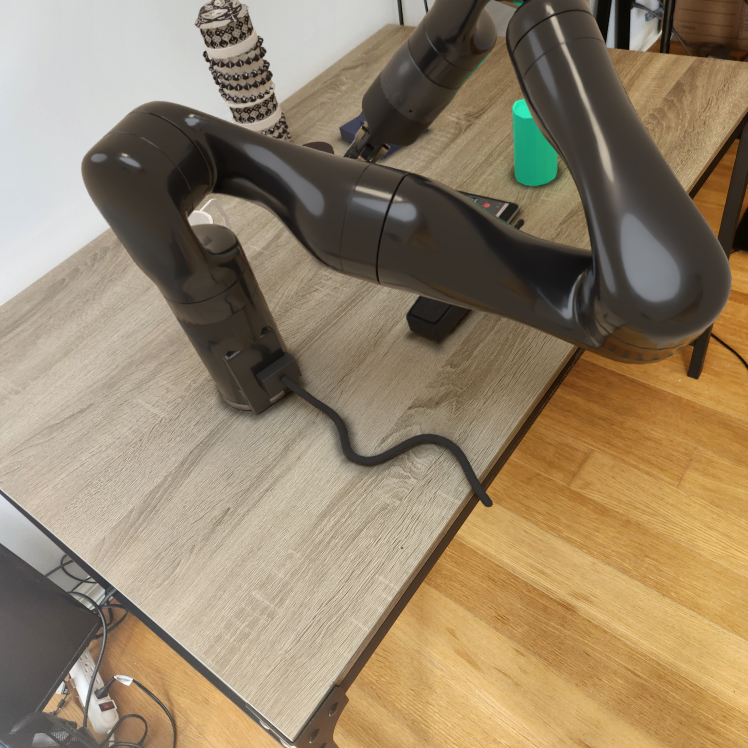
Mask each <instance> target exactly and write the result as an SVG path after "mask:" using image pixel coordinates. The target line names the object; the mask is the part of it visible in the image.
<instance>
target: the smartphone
mask: <svg viewBox="0 0 748 748" xmlns="http://www.w3.org/2000/svg"><path fill="white" fill-rule="evenodd" d="M455 190H456V191H458V192H459V193H461V194H463V195H464V196H466V197H468V198H469V199H471V200H472V201H474V202H475V203H477V204H478V205H480V206H482V207H483V208H485V209H486V210H488V211H489V212H491V213H492V214H494V215H495V216H497V217H499V218H500V219H502V220H503V221H505V222H507V223H508V224H510V222H512V220H513V219H514V217H516V215H517V214H518V212H519V211H520V204H518V203H517V202H512V201H509V200H503V199H499V198H493V197H490V196H485V195H481V194H476V193H471V192H466V191H463V190H458V189H455Z"/></svg>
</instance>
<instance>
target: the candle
mask: <svg viewBox="0 0 748 748" xmlns="http://www.w3.org/2000/svg"><path fill="white" fill-rule="evenodd" d="M511 111H512V113H511V115H512V137H513V138H512V141H513V166H514V167H513V168H514V169H513V170H514V177H515V179H516V181H517V182H518V183H520V184H522V185H524V186H530V187H531V186H532V187H538V186H543V185H547V184H549V183H550V182H551V181H553V180H555V179H556V177H557V174H558V169H559V168H558V166H559V155H558V153H557V152H556V151H555V150H554V149H553V147H552V146H551V145H550V144H549V142H548V141H547V140H546V139H545V137H544V136H543V135H542V133H541V132H540V130H539V129H538V127H537V125H536V123H535V122H534V120H533V118H532V116H531V114H530V111H529V109H528V107H527V104H526V102H525V99H524V98H522V99H518V100H516V101H514V103H513V106H512V109H511Z"/></svg>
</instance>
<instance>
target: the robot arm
mask: <svg viewBox="0 0 748 748" xmlns="http://www.w3.org/2000/svg"><path fill="white" fill-rule="evenodd" d="M493 1H494V2H497V3H500V4H502V5H505V6H508V7H511V8H514V9H516V10H514V12H513V14H512V15H511V17H510V19H509V21H508V24H507V26H506V30H505V46H506V50H507V54H508V55H507V56H508V58H509V61H510V64H511V67H512V69H513V72H514V75H515V78H516V80H517V84H518V87H519V89H520V91H521V94H522V97H523V99H525V102H526V104H527V107H528V109H529V111H530V114H531V116H532V118H533V120H534V122H535V123H536V125H537V127H538V129H539V130H540V132H541V133H542V135H543V136H544V137H545V139H546V140H547V141H548V142H549V144H550V145H551V146H552V147H553V149H554V150H555V151H556V152H557V153H558V157H559V158H560V159H561V161H562V162H563V163H564V165H565V166H566V168H567V170H568V172H569V174H570V176H571V178H572V181H573V182H574V185H575V187H576V190H577V192H578V195H579V199H580V202H581V205H582V209H583V213H584V219H585V222H586V228H587V232H588V239H589V244H590V245H589V246H590V249H586V248H580V247H577V246H572V245H568V244H564V243H561V242H560V243H559V242H556V241H551V240H547V239H544V238H540V237H537V236H535V235H532V234H531V233H527V232H525V231H524V230H521V229H517V228H515V227H514V225H511V224H510V223H509V224H508V223H507V222H505V221H503V220H502V219H500V218H499V217H497V216H495V215H494V214H492V213H491V212H489V211H488V210H486V209H485V208H483V207H482V206H480V205H478V204H477V203H475V202H474V201H472V200H471V199H469V198H468V197H466V196H464V195H463V194H461V193H459V192H458V191H459V190H458V191H456V190H457V189H454V188H452V187H451V186H449V185H447V184H445V183H442V182H441V181H439V180H436V179H433V178H431V177H427V176H425V175H422V174H419V173H416V172H411V171H408V170H404V169H400V168H396V167H392V166H387V165H384V164H380V163H377V162H378V161H379V160H381V158H383V157H384V155H385V154H386V153H387V151H388V150H389V148H390V146H389V145H387V144H392V145H396V146H403V147H408V146H411V145H413V144H414V143H416V142H417V141H418V140H419V139H420V137H421V136H422V135H424V134H425V133H426V132H425V131H426V129H427V128H428V129H429V128H430V127H431V125H432V124H433V123H434V122H435V121H436V120H437V118H438V117H439V116H440V115H441V114H442V113H443V112H444V110H446V109H447V107H448V106H449V105H450V104H451V103H452V102H453V100H454V98H455V97H456V95H457V94H458V92H459V90H460V89H461V88H462V87H463V86H464V85H465V83H466V82H467V81H468V80H469V79H470V78H471V76H472V75H473V74H474V73H475V72H476V71H477V70H478V69H479V67H480V66H481V65H482V64H483V63H484V62H485V61H486V59H488V58H489V56H490V55H491V53H492V51H493V50H494V48H495V46H496V43H497V39H498V28H497V26H496V22H495V20H494V18H493V16H492V15H491V13H490V11H489V10H488V9H487V8H486V6H487V5H488V4H489V3H490V2H492V0H434V2H433V4H432V6H431V7H430V8H429V9H428V11H426V13H425V14H424V16H423V18H422V19H421V20H420V22H419V23H418V24H417V26H416V27H415V29H414V30H413V31H412V33H411V34H410V35H409V36H408V37H407V38H406V39H405V41H403V43H402V44H401V45H400V46H399V47H398V48H397V49H395V50H396V51H394V53H393V54H392V56H391V57H390V58H389V60H388V61H387V63H386V64H385V65H384V66H383V68H382V69H381V71H380V72H379V74H378V75H377V76H376V78H375V79H374V80H373V81H372V83H371V85H370V86H369V87H368V89H367V90H366V91H365V93H364V94H363V96H362V100H361V109H362V110H361V112H362V111H363V115H364V118H365V121H364V123H365V124H363V125H362V126H361V128H360V129H359V130H358V132H357V133H356V135H355V140H354V141H353V142H352V144H351V143H350V145H349V146H348V147H347V149H346V150H345V152H344V153H343V154H342V155H338V154H335V153H334V154H331V153H327V152H323V151H320V150H316V149H313V148H309V147H306V146H302V145H303V144H299V143H295V142H292V143H291V142H288V141H284V140H280V139H277V138H273V137H270V136H267V135H264V134H261V133H258V132H255V131H253V130H250V129H247V128H244V127H242V126H239V125H236V124H234V122H231V121H228V120H227V119H223V118H220V117H218V116H215V115H212V114H209V113H207V112H205V111H201V110H199V109H196V108H194V107H190V106H187V105H184V104H180V103H176V102H172V101H166V100H152V101H147V102H144V103H142V104H140V105H137V106H136V107H135V108H134V109H132V110H131V111H129V112H128V113H127V114H126V115H125V116H124V117H123V118H121V119H120V120H119V121H118V122H117V123H116V124H115V125H114V126H113V127H112V128H111V129H110V130H109V131H108V132H106V133H105V134H104V135H103V136H102V137H101V138H100V139H99V140H98V141H97V142H96V143H95V144H93V146H92V147H90V148H89V149H88V150H87V152H86V153H85V154H84V156H83V158H82V160H81V165H80V173H81V179H82V181H83V185H84V187H85V190H86V191H87V194H88V196H89V197H90V199H91V201H92V203H93V204H94V206H95V208H96V209H97V211H98V212H99V214H100V215H101V217H102V218H103V219H104V221H105V222H106V224H107V225H108V226H109V228H110V229H111V231H112V232H113V233H114V234H115V236H116V238H117V239H118V241H119V243H121V245H122V246H123V248H124V249H125V251H126V252H127V254H128V255H129V257H130V258H131V259H132V261H133V262H134V263H135V265H136V266H137V267H138V269H139V270H140V271H141V272H142V273H143V274H144V275H145V276H146V277H147V278H148V279H149V280H150V281H152V283H154V285H155V286H156V287H157V290H158V291H159V292H160V294H161V295H162V297H163V298H164V300H165V301H166V303H167V305H168V307H169V309H170V310H171V311H172V314H173V315H174V317H175V319H176V320H177V322H178V324H179V325H180V327H181V329H182V330H183V332H184V333H185V335H186V337H187V339H188V340H189V342H190V344H191V345H192V347H193V349H194V351H195V352H196V354H197V356H198V357H199V358H200V360H201V362H202V363H203V365H204V367H205V368H206V370H207V372H208V373H209V375H210V377H211V378H212V380H213V381H214V383H215V385H216V386H217V388H218V390H219V393H220V395H221V397H222V399H224V401H225V402H226V403H227V404H228V405H229V406H231V407H233V408H234V409H238V410H244V411H251V412H253V414H255V415H259V414H261V413H262V412H263V411H265V410H266V409H267V408H269V407H270V406H272V405H273V404H274V403H276V402H277V401H279V400H281V399H282V398H283V397H285V396H286V395H288V393H290V392H291V391H292V392H293V393H294V394H295V395H297V396H298V397H300V398H301V399H303V401H305V402H307V403H308V404H309V405H310V406H313V407H314V408H315V409H317V410H318V411H320V412H321V413H323V414H324V415H326V416H327V417H328V418H330V419H331V420H332V422H333V423H334V424H335V426H336V428H337V431H338V433H339V434H338V435H339V439H340V444H341V448H342V451H343V454H344V456H345V457H346V458H347V459H348V460H349V461H351V462H353V463H354V464H358V465H360V466H361V465H362V466H374V465H379V464H382V463H384V462H386V461H389V460H391V459H392V458H394V457H396V456H398V455H399V454H402V453H403V452H405V451H406V450H408V449H410V448H413V447H414V446H417V445H420V444H425V443H431V444H437V445H439V446H442V447H444V448H446V449H447V450H449V451H450V452H451V454H452V455H453V456H454V457H455V459H456V460H457V461H458V464H459V465H460V467H461V469H462V471H463V474H464V476H465V478H466V480H467V481H468V482H467V483H469V485H470V487H471V489H472V490H473V492H474V493H475V495H476V497H477V498H478V500H479V501H480V503H481V504H482V505H483V506H484V507H485V508H491V507H493V505H494V503H493V500H492V499H491V497H490V496H489V494H488V492H487V491H486V490H485V488H484V487H483V485H482V484H481V482H480V480H479V478H478V477H477V474H476V473H475V471H474V469H473V467H472V465H471V462H470V460H469V459H468V457H467V455H466V454H465V452H464V451H463V449H462V448H461V447H460V446H459V445H458V444H457V443H456V442H454V441H452V440H451V439H449V438H447V437H445V436H442V435H440V434H435V433H421V434H417V435H415V436H412V437H409V438H407V439H405V440H403V441H401V442H400V443H398V444H396V445H394V446H393V447H391V448H389V449H387V450H385V451H383V452H381V453H379V454H376V455H371V456H364V455H360V454H359V453H356V452H355V451H354V450H353V449H352V447H351V444H350V438H349V432H348V429H347V426H346V424H345V421H344V420H343V418H342V417H341V416H340V415H339V413H338V412H336V410H334V409H333V408H332V407H331V406H329V405H328V404H326V403H325V402H323V401H321V400H320V399H318V398H317V397H316V396H314V395H313V394H311V393H310V392H309V391H307V390H306V389H305V388H304V387H302V386H301V385H300V383H299V381H298V379H300V378H301V377H302V376H303V374H302V372H301V370H300V367H299V366H298V362H297V360H296V358H295V357H294V356H292V354H291V353H290V352H289V349H288V347H287V345H286V343H285V340H284V338H283V336H282V334H281V331H280V330H279V326H278V324H277V322H276V321H275V318H274V316H273V313H272V311H271V309H270V307H269V305H268V302H267V299H266V298H265V296H264V293H263V291H262V289H261V287H260V285H259V282H258V280H257V277H256V276H255V273H254V270H253V268H252V265H251V264H250V262H249V259H248V257H247V255H246V252H245V249H244V248H243V245H242V243H241V241H240V238H239V237H238V236H237V235H236V233H235V232H234V231H233V230H232V229H231V230H232V231H231V230H230V229H229V228H227V227H225V226H224V225H221V224H217V223H215V224H197V225H192V226H191V225H190V223H189V221H188V217H189V216H190V215H191V214H192V213H193V211H195V210H197V208H198V207H199V206H200V204H202V202H203V201H204V200H205V199H206V197H207V196H211V195H221V196H225V197H231V198H235V199H239V200H242V201H245V202H248V203H251V204H253V205H256V206H258V207H260V208H263V209H265V210H266V211H268V212H269V213H270V214H271V215H273V217H275V218H276V220H277V221H278V222H280V223H281V225H282V226H283V227H284V228H285V230H286V231H287V232H288V233H289V234H290V236H292V237H293V239H294V240H295V241H296V242H297V243H298V245H300V246H301V248H302V249H304V251H305V252H307V254H308V255H309V256H310V257H311V258H312V259H314V260H315V261H316V262H318V264H320V265H321V266H323V267H325V268H327V269H329V270H331V271H333V272H335V273H338V274H341V275H343V276H346V277H351V278H353V279H356V280H357V279H358V280H360V281H364V282H367V283H371V284H374V285H378V286H382V287H385V288H388V289H394V290H397V291H400V292H406V293H409V294H413V295H417V296H423V297H427V298H430V299H434V300H438V301H441V302H445V303H448V304H452V305H456V306H460V307H464V308H468V310H472V311H476V312H479V313H485V314H489V315H493V316H496V317H500V318H502V319H503V318H504V319H506V320H509V321H513V322H515V323H518V324H520V325H524V326H526V327H529V328H532V329H534V330H536V331H539V332H541V333H544V334H546V335H548V336H551V337H554V338H556V339H559V340H561V341H563V342H565V343H568V344H571V345H573V346H576V347H577V348H579V349H580V348H581V350H582V349H583V350H585V351H587V352H590V353H593V354H594V355H597V356H599V357H603V358H605V359H608V360H610V361H614V362H617V363H621V364H626V365H637V366H638V365H639V366H640V365H641V366H643V365H651V364H652V365H653V364H658V363H660V362H663V361H666V360H669V359H671V358H673V357H674V356H676V355H677V354H679V353H681V352H682V351H684V350H685V349H686V348H687V347H688V346H690V344H692V343H693V342H694V341H695V340H697V339H698V338H699V337H700V336H701V335H702V334H703V333H704V332H705V331H706V330H707V329H709V327H711V326H712V324H713V323H714V322H716V321H717V319H718V318H719V317H720V315H721V313H722V312H723V311H724V309H725V307H726V306H727V303H728V301H729V298H730V295H731V292H732V281H733V275H732V270H731V266H730V262H729V259H728V257H727V255H726V251H725V249H724V248H723V246H722V244H721V243H720V241H719V239H718V237H717V235H716V234H715V232H714V230H713V229H712V227H711V226H710V224H709V223H708V221H707V220H706V218H705V217H704V215H703V214H702V212H701V210H700V209H699V208H698V206H697V205H696V203H695V202H694V201H693V199H692V197H691V196H690V195H689V193H688V192H687V190H686V189H685V188H684V186H683V184H682V183H681V182H680V180H679V178H678V177H677V175H676V174H675V172H674V171H673V169H672V167H671V166H670V164H669V162H668V161H667V160H666V158H665V156H664V155H663V154H662V153H663V152H661V150H660V148H659V147H658V145H657V143H656V142H655V141H654V139H653V138H652V136H651V134H650V133H649V130H648V129H647V127H646V126H645V123H643V121H642V119H641V117H640V115H639V114H638V112H637V110H636V109H635V107H634V105H633V103H632V101H631V99H630V97H629V95H628V92H627V90H626V89H625V87H624V85H623V82H622V79H621V78H620V75H619V72H618V71H617V68H616V66H615V64H614V63H615V62H614V61H613V59H612V56H611V54H610V51H609V49H608V46H607V45H606V42H605V39H604V37H603V35H602V32H601V30H600V28H599V25H598V22H597V21H596V18H595V16H594V14H593V12H592V9H591V0H493ZM424 132H425V133H424ZM423 133H424V134H423Z"/></svg>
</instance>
